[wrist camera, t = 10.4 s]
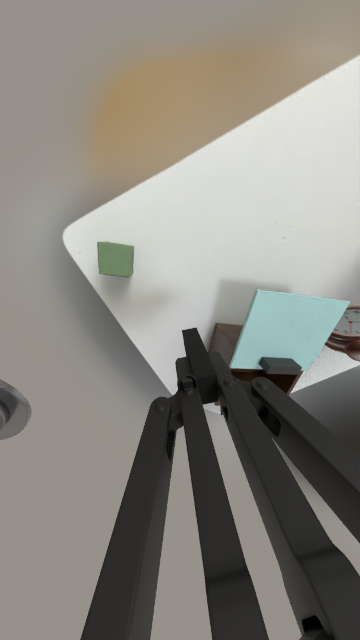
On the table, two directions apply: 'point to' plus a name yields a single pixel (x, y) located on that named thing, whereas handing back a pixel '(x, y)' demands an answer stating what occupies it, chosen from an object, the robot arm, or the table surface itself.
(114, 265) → the block
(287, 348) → the light blue board
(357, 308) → the alarm clock
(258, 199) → the table surface
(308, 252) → the table surface
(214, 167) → the table surface
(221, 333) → the case
